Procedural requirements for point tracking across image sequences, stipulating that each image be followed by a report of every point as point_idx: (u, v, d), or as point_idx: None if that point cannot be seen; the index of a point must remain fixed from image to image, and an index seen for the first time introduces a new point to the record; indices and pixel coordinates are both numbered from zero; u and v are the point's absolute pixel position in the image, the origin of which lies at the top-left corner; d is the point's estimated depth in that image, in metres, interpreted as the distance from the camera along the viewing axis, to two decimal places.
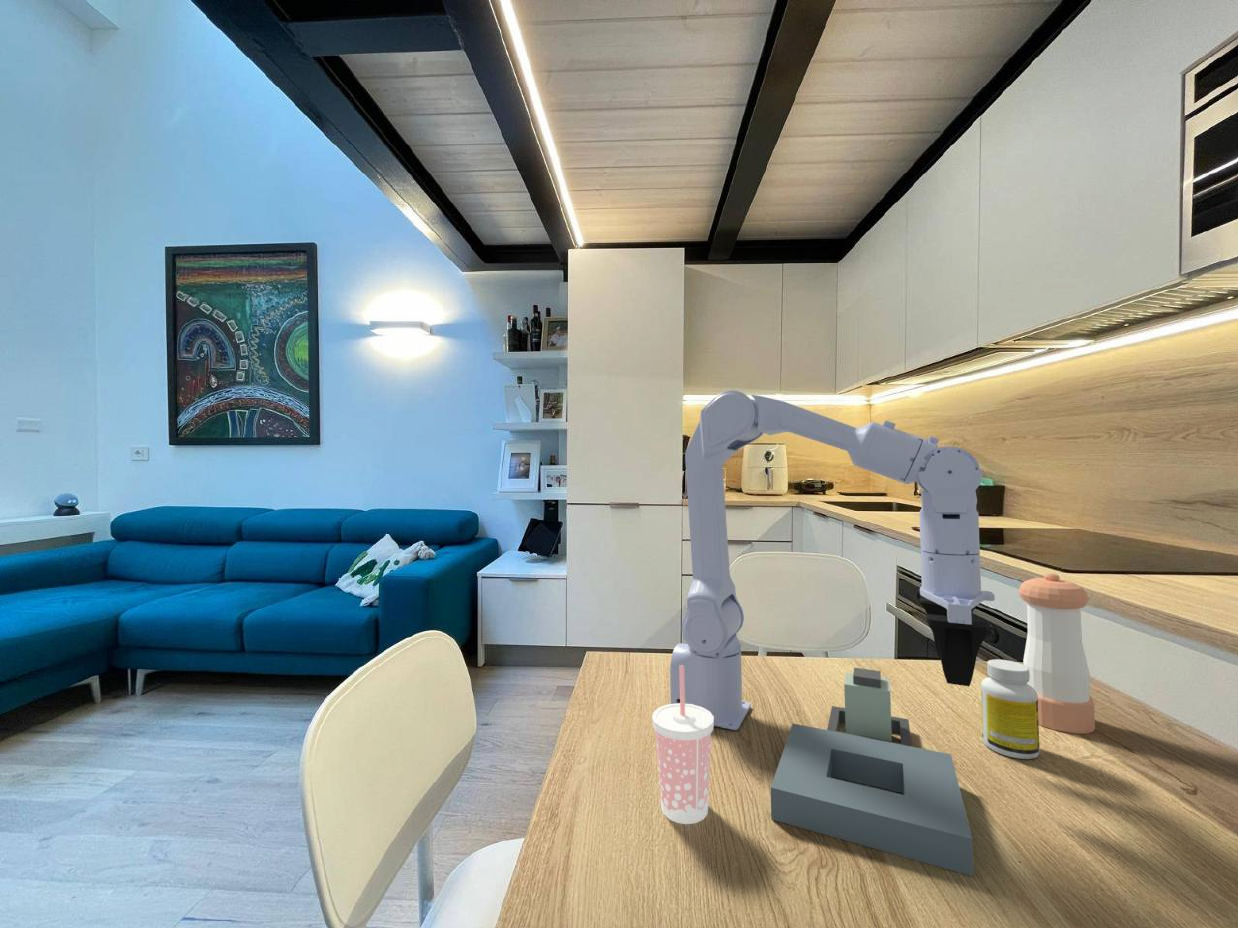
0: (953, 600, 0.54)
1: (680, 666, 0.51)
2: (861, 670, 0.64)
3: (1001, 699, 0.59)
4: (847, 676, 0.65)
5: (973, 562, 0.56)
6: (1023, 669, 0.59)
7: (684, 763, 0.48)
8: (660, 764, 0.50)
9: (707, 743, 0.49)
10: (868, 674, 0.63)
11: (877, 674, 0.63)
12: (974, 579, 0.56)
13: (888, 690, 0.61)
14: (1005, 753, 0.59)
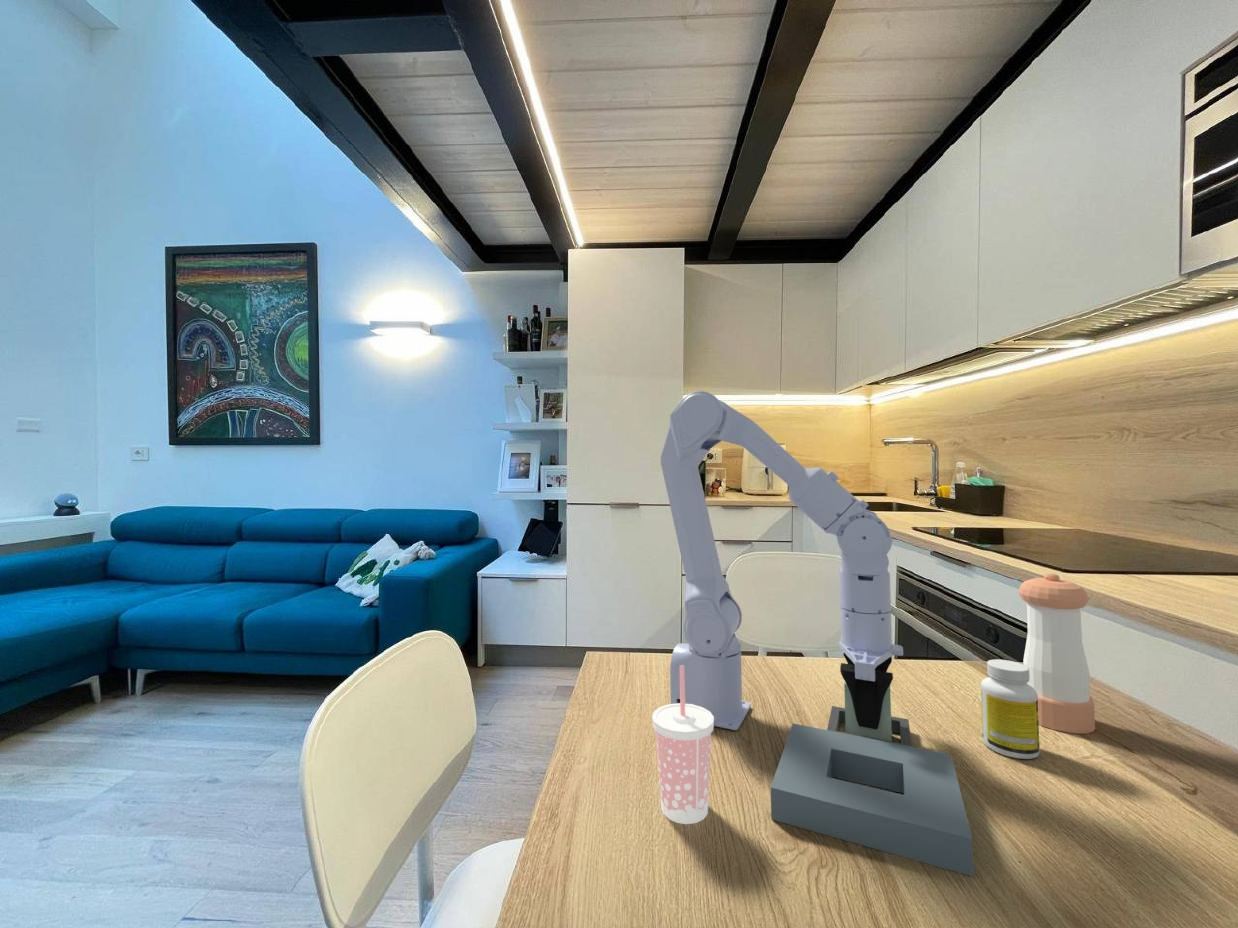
0: (862, 656, 0.59)
1: (680, 666, 0.51)
2: None
3: (1001, 699, 0.59)
4: None
5: (883, 620, 0.61)
6: (1023, 669, 0.59)
7: (684, 763, 0.48)
8: (660, 764, 0.50)
9: (707, 743, 0.49)
10: None
11: None
12: (884, 635, 0.61)
13: (888, 690, 0.61)
14: (1005, 753, 0.59)
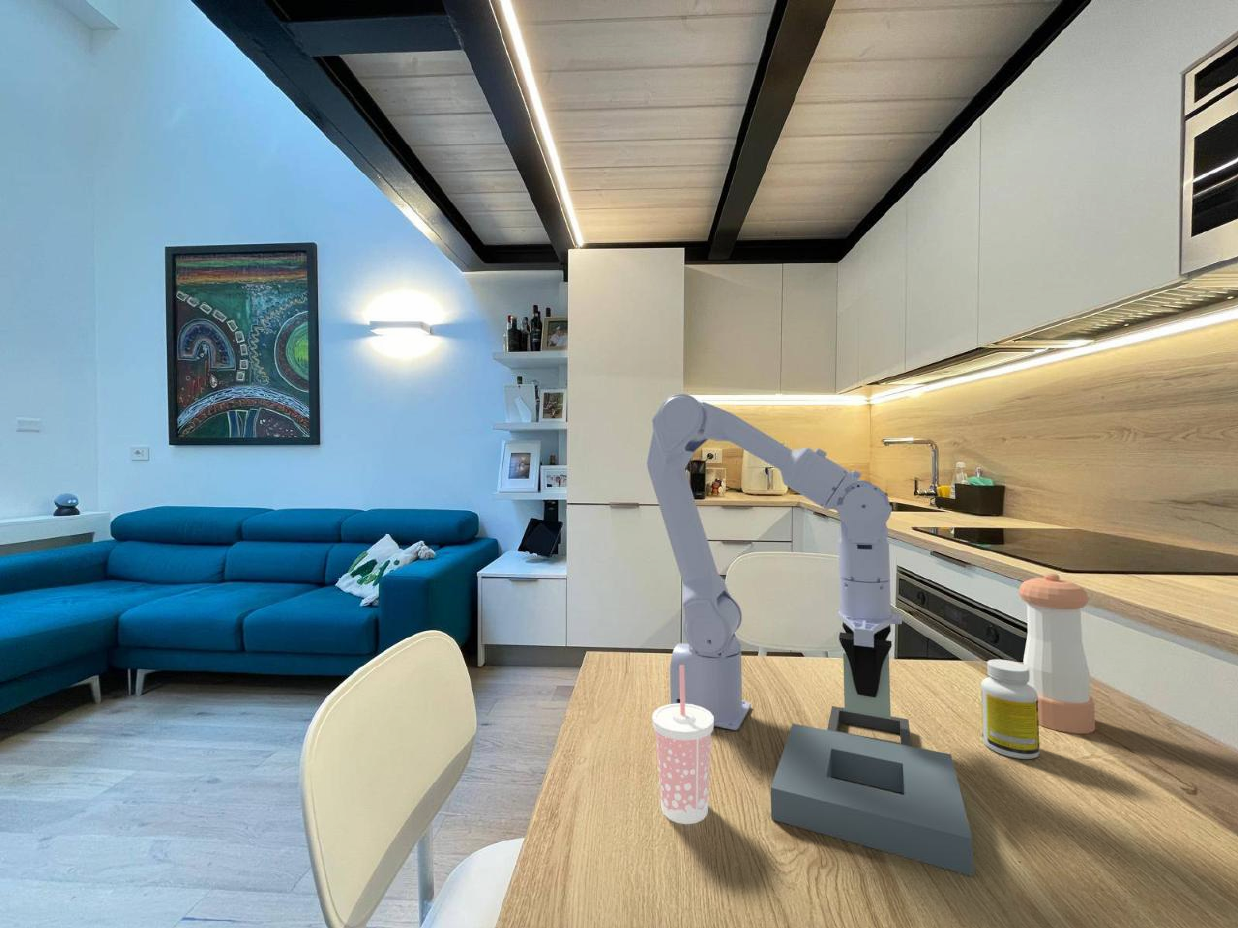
0: (861, 624, 0.59)
1: (680, 666, 0.51)
2: None
3: (1001, 699, 0.59)
4: None
5: (882, 589, 0.61)
6: (1023, 669, 0.59)
7: (684, 763, 0.48)
8: (660, 764, 0.50)
9: (707, 743, 0.49)
10: None
11: None
12: (883, 604, 0.61)
13: (887, 658, 0.61)
14: (1005, 753, 0.59)
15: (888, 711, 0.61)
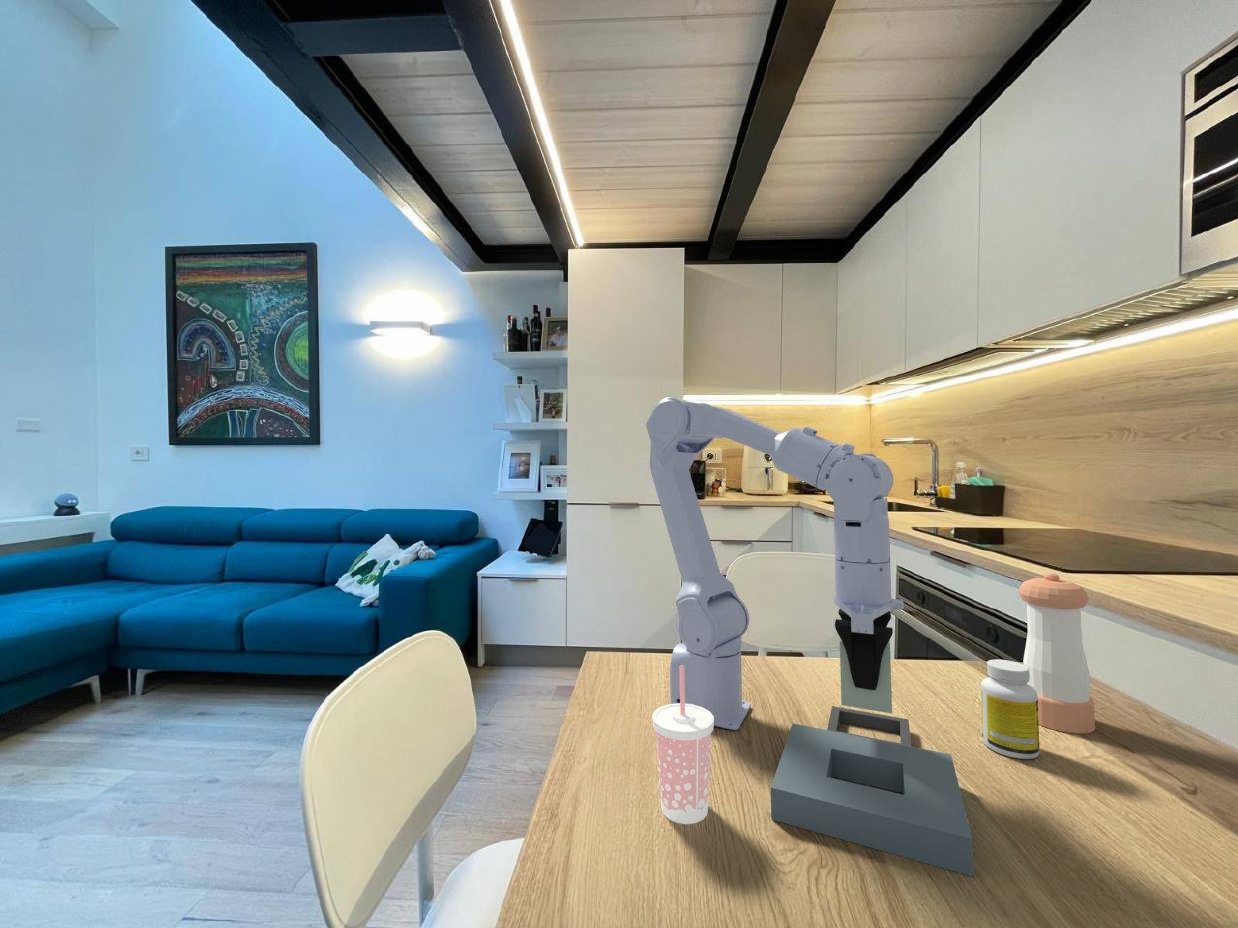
0: (859, 609, 0.54)
1: (680, 666, 0.51)
2: None
3: (1001, 699, 0.59)
4: None
5: (882, 570, 0.56)
6: (1023, 669, 0.59)
7: (684, 763, 0.48)
8: (660, 764, 0.50)
9: (707, 743, 0.49)
10: None
11: None
12: (883, 587, 0.55)
13: (888, 647, 0.55)
14: (1005, 753, 0.59)
15: (889, 705, 0.55)
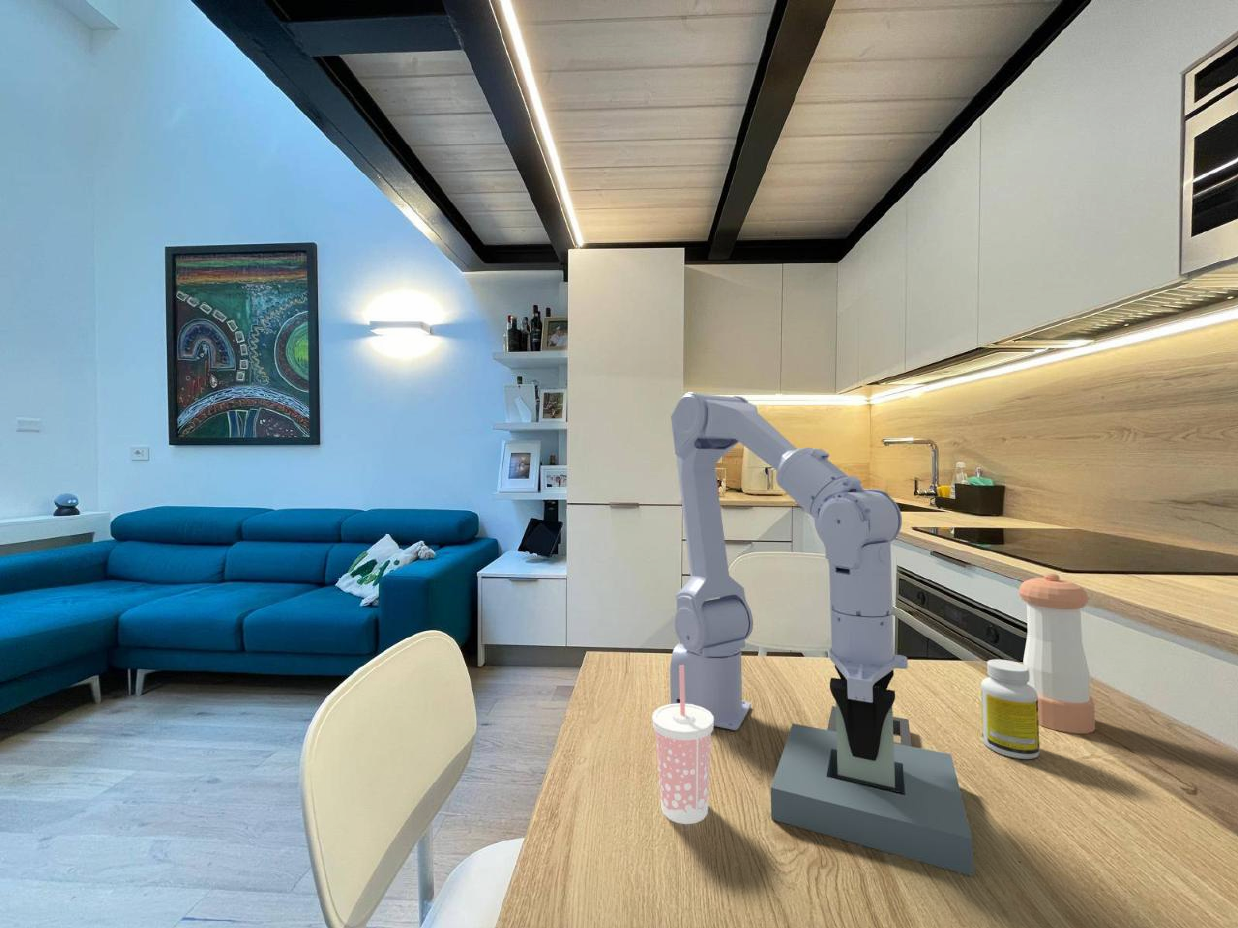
0: (857, 670, 0.47)
1: (680, 666, 0.51)
2: None
3: (1000, 699, 0.59)
4: None
5: (883, 625, 0.49)
6: (1023, 669, 0.59)
7: (684, 763, 0.48)
8: (660, 764, 0.50)
9: (707, 743, 0.49)
10: None
11: None
12: (884, 644, 0.49)
13: (890, 711, 0.49)
14: (1005, 753, 0.59)
15: (892, 778, 0.48)
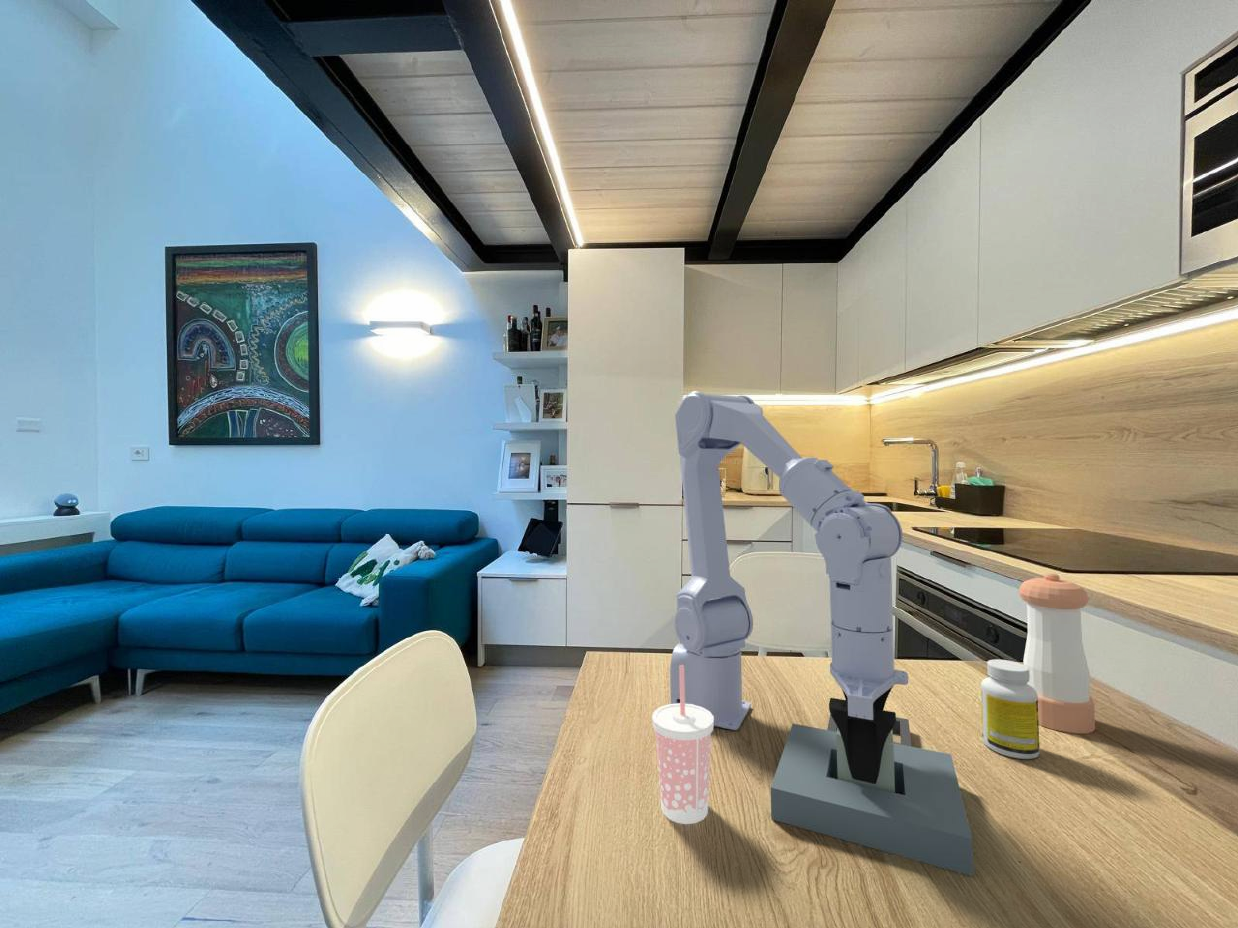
0: (857, 687, 0.47)
1: (680, 666, 0.51)
2: None
3: (1001, 699, 0.59)
4: None
5: (884, 640, 0.49)
6: (1023, 669, 0.59)
7: (684, 763, 0.48)
8: (660, 764, 0.50)
9: (707, 743, 0.49)
10: None
11: None
12: (884, 660, 0.49)
13: (891, 744, 0.49)
14: (1005, 753, 0.59)
15: None
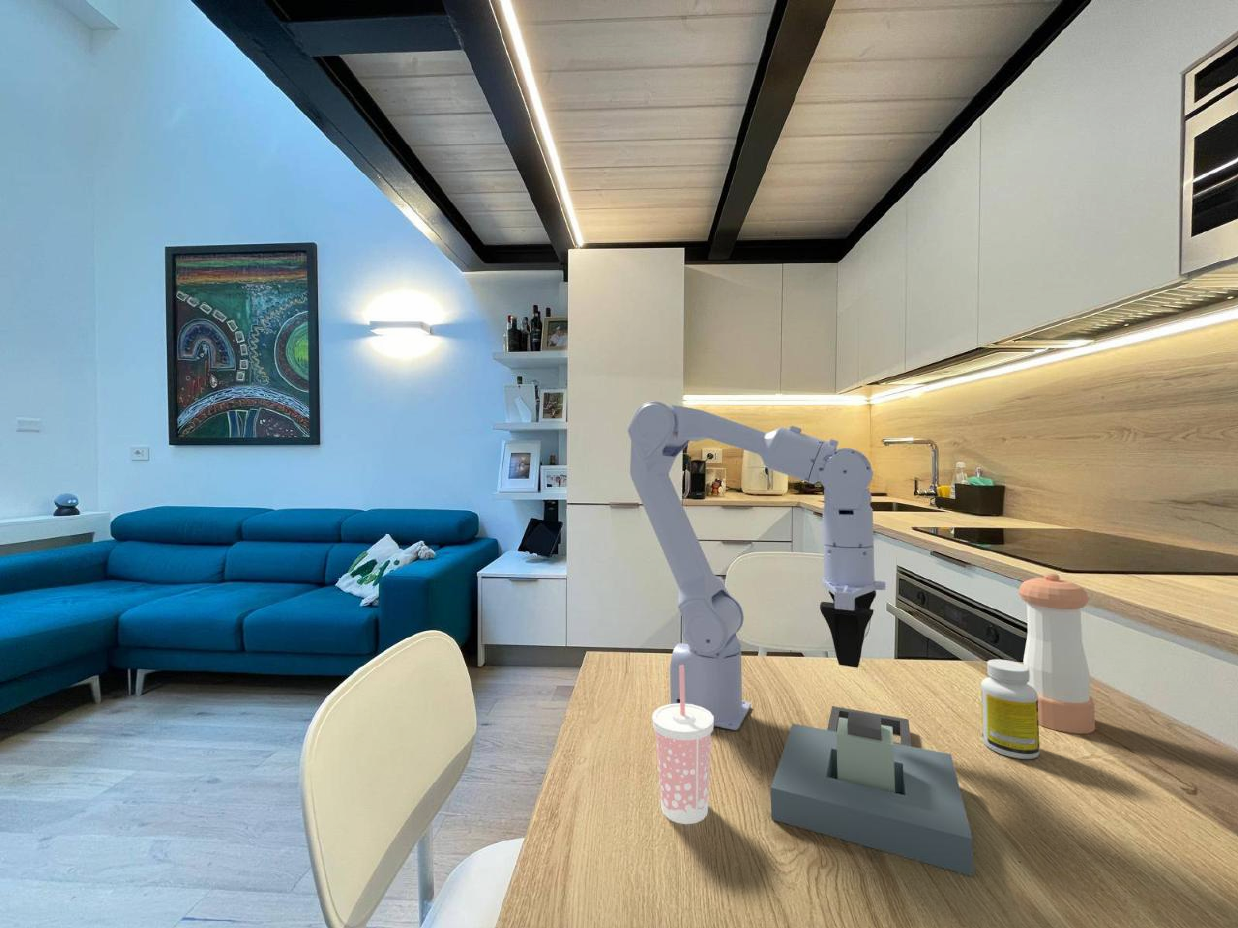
0: (843, 589, 0.59)
1: (680, 666, 0.51)
2: (857, 715, 0.52)
3: (1001, 699, 0.59)
4: (840, 722, 0.53)
5: (865, 554, 0.61)
6: (1023, 669, 0.59)
7: (684, 763, 0.48)
8: (660, 764, 0.50)
9: (707, 743, 0.49)
10: (865, 721, 0.51)
11: (877, 721, 0.51)
12: (865, 570, 0.61)
13: (891, 744, 0.49)
14: (1005, 753, 0.59)
15: None
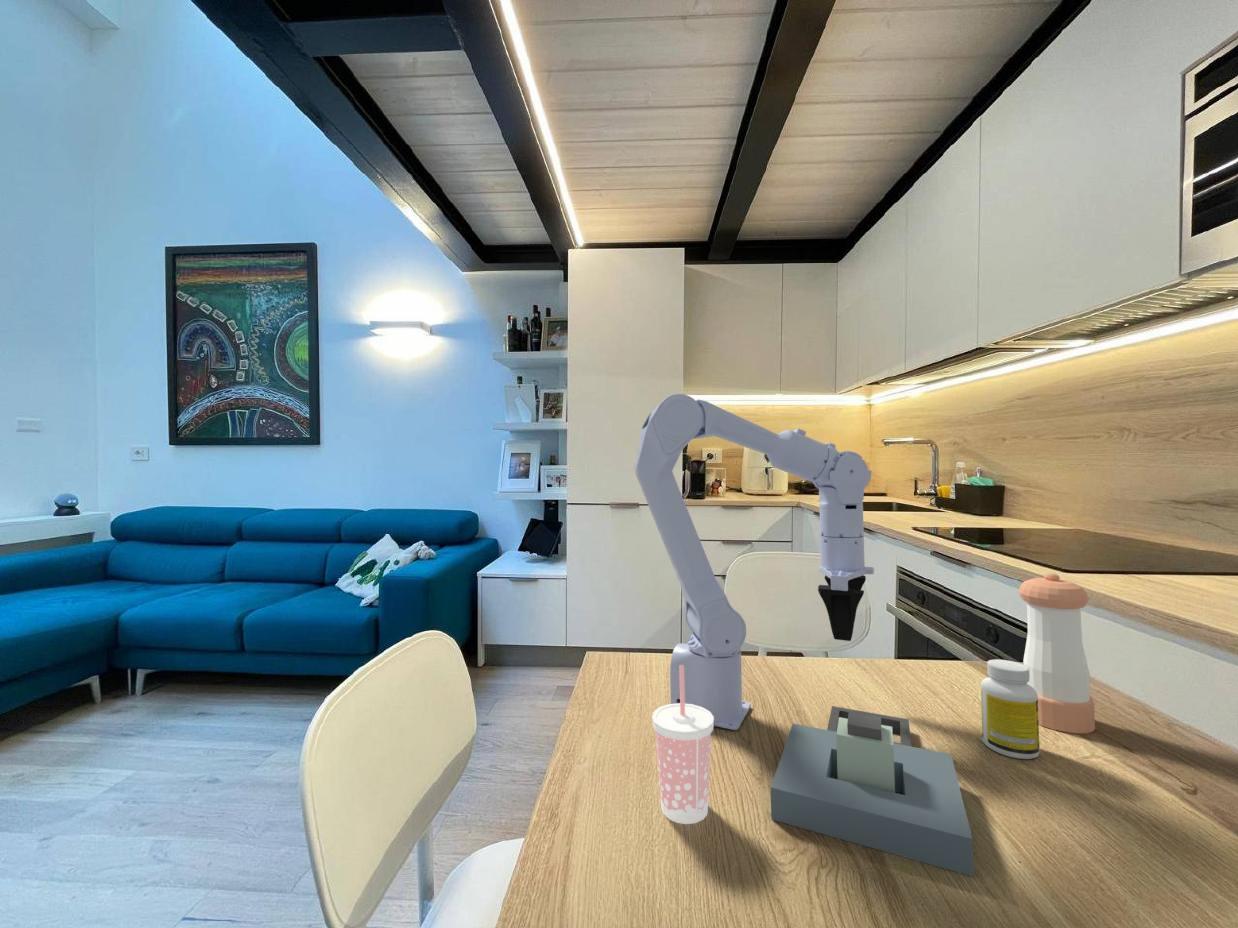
0: (838, 573, 0.69)
1: (680, 666, 0.51)
2: (857, 715, 0.52)
3: (1000, 699, 0.59)
4: (840, 722, 0.53)
5: (856, 543, 0.70)
6: (1023, 669, 0.59)
7: (684, 763, 0.48)
8: (660, 764, 0.50)
9: (707, 743, 0.49)
10: (865, 721, 0.51)
11: (877, 721, 0.51)
12: (857, 556, 0.70)
13: (891, 744, 0.49)
14: (1005, 753, 0.59)
15: None
